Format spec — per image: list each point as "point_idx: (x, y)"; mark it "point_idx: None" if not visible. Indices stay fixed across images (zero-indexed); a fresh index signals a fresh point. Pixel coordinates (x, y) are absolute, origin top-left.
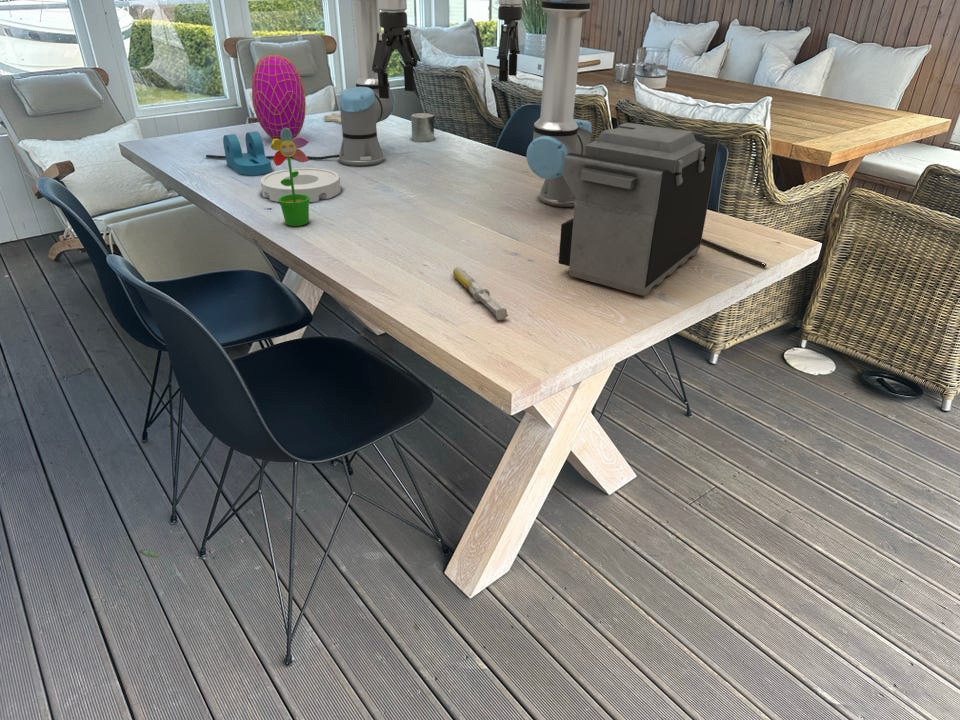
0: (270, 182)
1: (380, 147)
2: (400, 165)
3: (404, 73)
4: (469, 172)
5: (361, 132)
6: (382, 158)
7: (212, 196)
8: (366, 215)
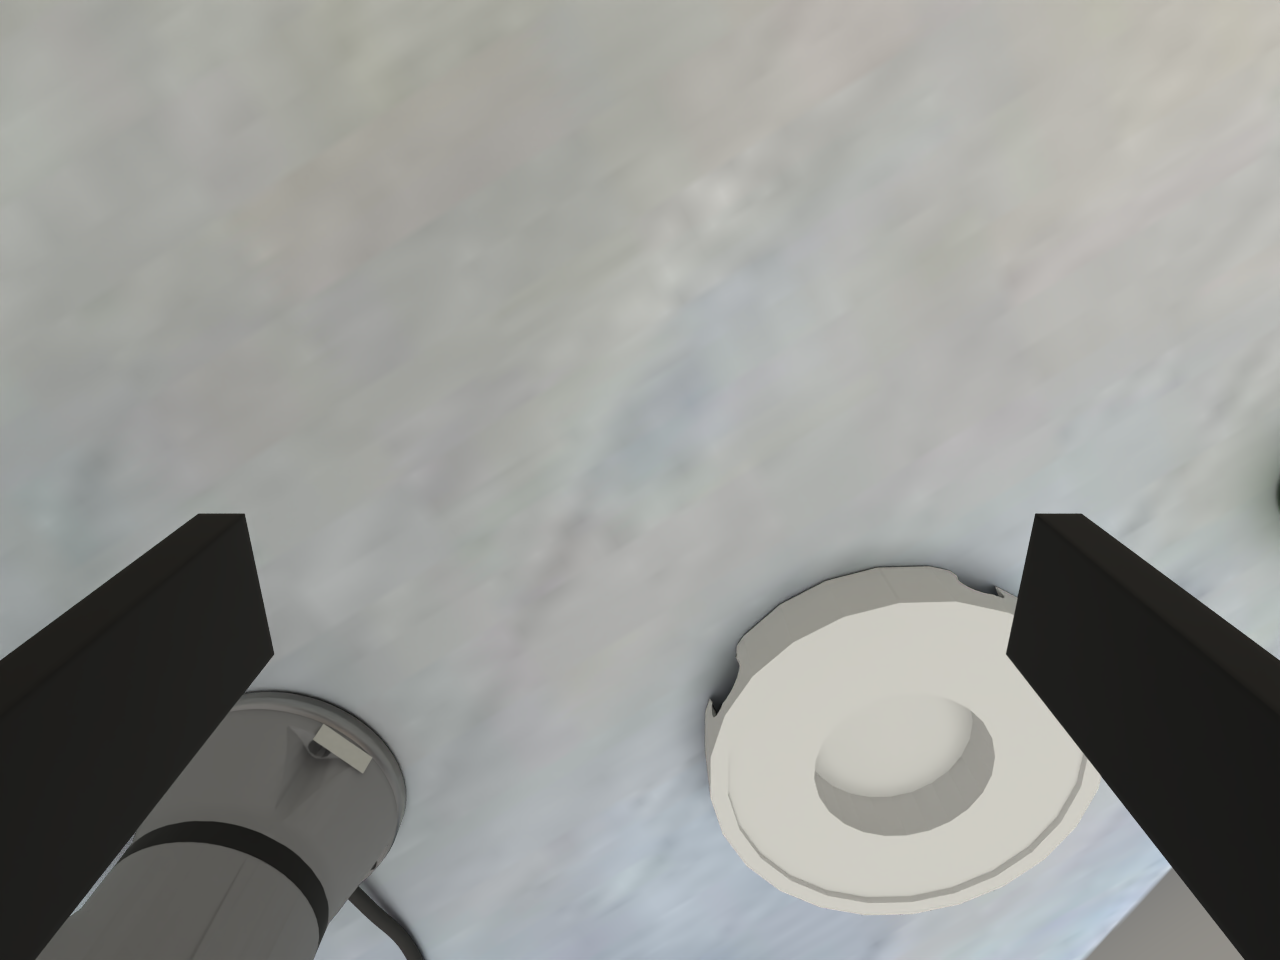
0: (998, 842)
1: None
2: None
3: (88, 879)
4: (49, 122)
5: (271, 883)
6: None
7: (1065, 950)
8: (1135, 244)
